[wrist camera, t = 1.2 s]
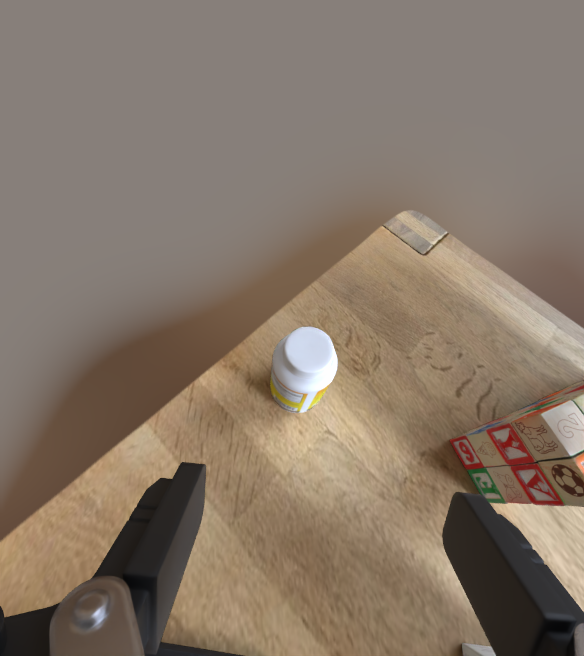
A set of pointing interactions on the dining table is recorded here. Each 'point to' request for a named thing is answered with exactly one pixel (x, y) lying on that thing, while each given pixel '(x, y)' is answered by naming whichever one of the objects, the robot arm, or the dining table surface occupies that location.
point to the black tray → (185, 651)
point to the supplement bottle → (302, 369)
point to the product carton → (477, 650)
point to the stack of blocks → (530, 452)
